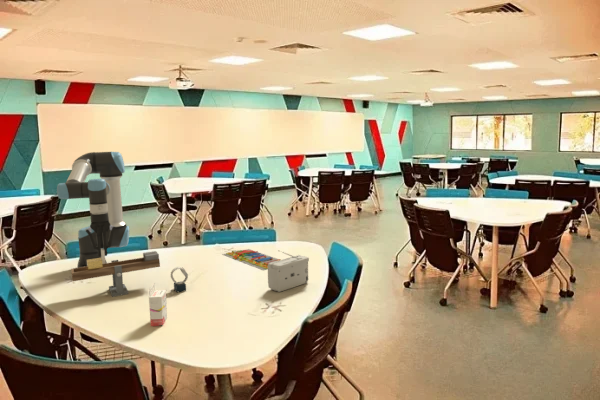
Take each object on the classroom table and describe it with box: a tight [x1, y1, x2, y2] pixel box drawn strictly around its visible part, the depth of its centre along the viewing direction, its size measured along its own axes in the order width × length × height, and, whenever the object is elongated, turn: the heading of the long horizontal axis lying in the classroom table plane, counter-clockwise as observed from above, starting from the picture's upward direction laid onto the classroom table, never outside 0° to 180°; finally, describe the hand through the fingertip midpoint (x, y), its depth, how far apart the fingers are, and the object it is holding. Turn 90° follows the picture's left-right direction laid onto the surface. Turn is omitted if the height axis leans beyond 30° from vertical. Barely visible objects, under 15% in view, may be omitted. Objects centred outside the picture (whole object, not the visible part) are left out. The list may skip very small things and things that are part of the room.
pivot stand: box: [108, 259, 129, 298], centre depth 218 cm, size 13×7×14 cm, turn 29°
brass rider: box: [87, 258, 103, 270], centre depth 212 cm, size 6×6×5 cm
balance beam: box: [70, 250, 161, 282], centre depth 217 cm, size 9×38×6 cm, turn 119°
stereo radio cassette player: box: [267, 250, 310, 293], centre depth 221 cm, size 21×8×20 cm, turn 135°
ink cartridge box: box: [148, 283, 168, 327], centre depth 181 cm, size 9×5×15 cm, turn 5°
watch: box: [170, 266, 189, 293], centre depth 219 cm, size 6×8×11 cm
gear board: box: [222, 248, 282, 271], centre depth 272 cm, size 45×2×19 cm
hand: (103, 262), depth 214 cm, fingers closed
